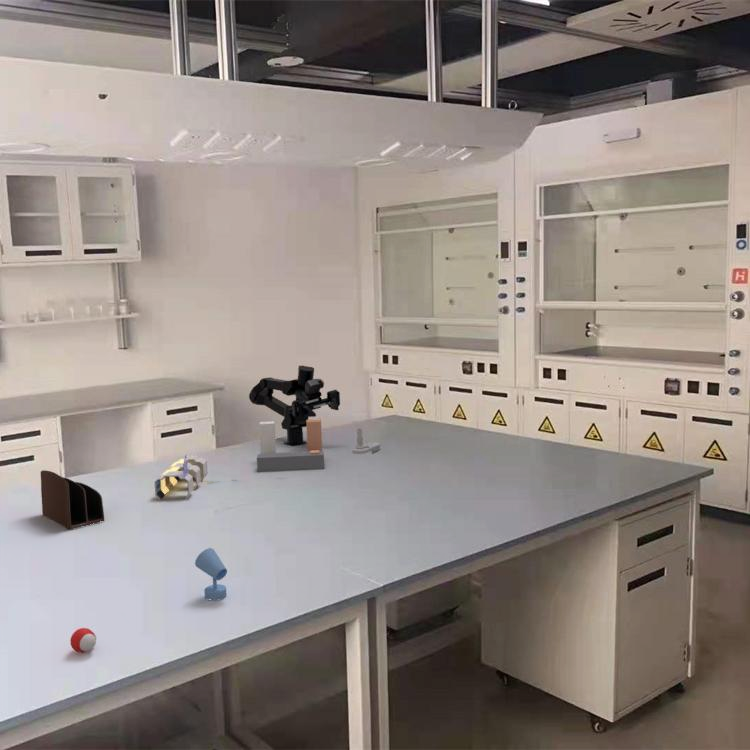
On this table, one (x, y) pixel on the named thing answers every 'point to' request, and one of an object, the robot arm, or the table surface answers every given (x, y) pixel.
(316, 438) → the key
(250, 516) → the table surface
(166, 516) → the table surface
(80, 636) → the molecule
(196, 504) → the table surface
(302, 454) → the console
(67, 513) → the letter holder
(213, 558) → the spotlight
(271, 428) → the key
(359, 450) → the electronic device
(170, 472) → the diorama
